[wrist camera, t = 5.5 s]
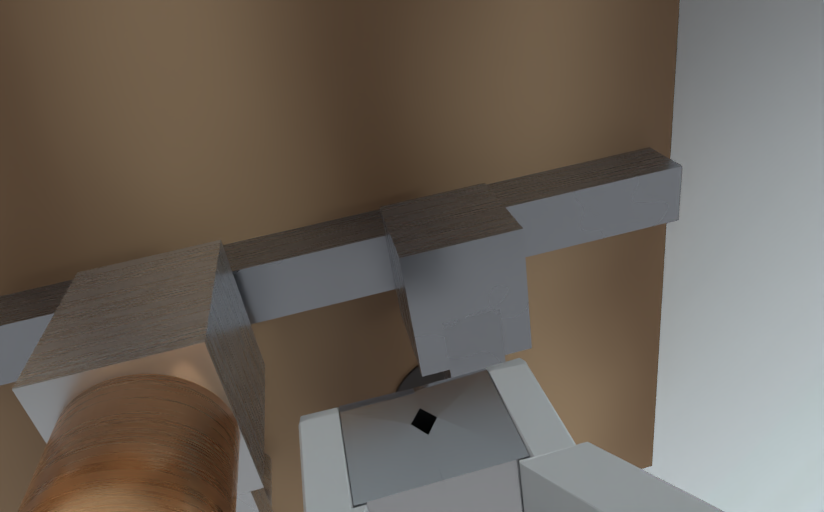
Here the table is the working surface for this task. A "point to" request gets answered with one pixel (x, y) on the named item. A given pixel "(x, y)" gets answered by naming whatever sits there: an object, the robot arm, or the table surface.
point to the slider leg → (149, 392)
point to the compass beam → (423, 259)
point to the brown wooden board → (336, 174)
